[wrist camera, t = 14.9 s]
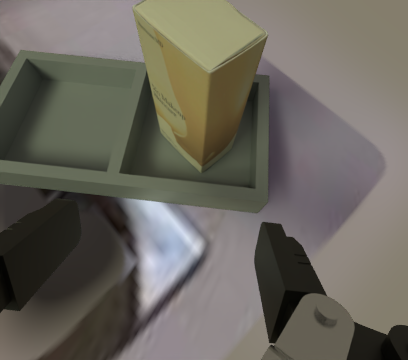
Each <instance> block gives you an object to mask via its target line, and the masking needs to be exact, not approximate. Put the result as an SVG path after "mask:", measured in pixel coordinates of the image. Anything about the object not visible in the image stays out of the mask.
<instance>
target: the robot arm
mask: <svg viewBox="0 0 408 360" xmlns="http://www.w3.org/2000/svg"><path fill="white" fill-rule="evenodd" d="M80 238H81V223H80V216H79V208H78V204H77V202H76V201H74V200H65V199H54V200H53V201H51V202H50V203H49V204H47V205H46V206H44V207H43V208H41V209H39V210H37V211H34V212H32V213H29V214H27V215H26V216H24V217H23V218H21V219H20V220H18V221H17V223H14V224H13V225H11V226H10V227H8V228H7V230H4V231H2V232H1V233H0V313H1V311H2V310H3V309H7V310H15V311H20V310H21V309H22V308H23V307H24V305H25V304H26V303H27V302H28V301H29V300H30V299H31V297H32V296H33V295H34V294H35V293H36V292H37V291H38V289H39V288H40V287H41V286H42V285H43V284H44V283H45V281H46V280H47V279H48V278H49V277H50V276H51V275H52V273H53V272H54V271H55V270H56V269H57V268H58V267H59V265H60V264H61V263H62V262H63V261H64V260H65V259H66V257H67V256H68V255H69V254H70V253H71V252H72V251H73V249H74V248H75V247H76V246H77V245H78V243H79V241H80ZM254 263H255V270H256V275H257V281H258V286H259V291H260V296H261V302H262V307H263V312H264V317H265V323H266V328H267V333H268V339H269V343H275V345H274V346H273V345H270V347H269V348H268V349H267V351H266V352H265V354H264V355H263V357H262V359H261V360H408V326H405V325H396V326H394V327H392V328H391V330H390V331H389V333H388V335H386V334H383V333H380V332H378V331H375V330H373V329H370V328H368V327H365V326H362V325H360V324H358V323H355V322H354V321H353V319H352V317H351V316H350V314H349V313H348V311H347V310H346V309H345V308H344V307H343V306H342V305H341V304H339V303H338V302H337V301H335V300H333V299H332V298H330V297H327V295H326V293H325V291H324V289H323V287H322V285H321V283H320V281H319V279H318V277H317V275H316V273H315V271H314V269H313V267H312V266H311V263H310V261H309V259H308V257H307V255H306V253H305V251H304V249H303V247H302V245H301V244H300V243H299V242H297V241H296V240H295V239H294V238H293V237H286V234H285V232H284V230H283V227H282V225H281V224H277V223H268V222H262V224H261V227H260V231H259V236H258V241H257V245H256V250H255V258H254Z"/></svg>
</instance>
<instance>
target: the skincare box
mask: <svg viewBox="0 0 408 360" xmlns="http://www.w3.org/2000/svg"><path fill="white" fill-rule="evenodd" d="M132 8H133V13H134V17H135V21H136V25H137V29H138V34H139V38H140V43H141V47H142V51H143V56H144V60H145V65H146V69H147V73H148V77H149V82H150V87H151V91H152V95H153V99H154V104H155V108H156V113H157V117H158V121H159V126H160V130H161V133H162V134H163V136H164V137H165V138H166V139H167V140H168V141H169V142H170V143H171V144H172V145H173V146H174V147H175V148H176V149H177V150H178V152H179V153H180V154H181V155H183V156H184V158H186V159H187V160H188V161H189V162H190V163H191V164H192V165H193V166H194V167H195V168H196V169H197V170H198V171H199V172H200V173H203V172H204V171H205V170H206V169H208V168H209V167H210V166H212V165H213V164H214V163H215V162H217V161H218V160H219V159H220V158H221V157H223V156H224V155H225V154H226V153H227V152H228V151H230V150H231V149H232V146H233V143H234V140H235V137H236V133H237V130H238V127H239V124H240V121H241V118H242V115H243V112H244V108H245V105H246V102H247V99H248V96H249V93H250V90H251V87H252V83H253V80H254V77H255V74H256V71H257V68H258V65H259V62H260V59H261V55H262V52H263V49H264V46H265V43H266V39H267V36H268V34H267V32H266V31H265V30H264V29H262V28H261V27H259V26H258V25H257V24H256V23H254V22H253V21H251V20H250V19H249V18H247V17H246V16H245V15H243V14H242V13H240V12H239V11H238V10H237V9H236V8H235V7H234V6H232V5H231V4H230V3H229V2H227V1H226V0H143V1H141V2H139V3H138V4H136V5H134V6H133V7H132Z"/></svg>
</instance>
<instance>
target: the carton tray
mask: <svg viewBox="0 0 408 360" xmlns="http://www.w3.org/2000/svg"><path fill="white" fill-rule="evenodd" d="M268 152H269V76H267V75H257V74H255V77H254V80H253V83H252V87H251V90H250V93H249V96H248V99H247V102H246V105H245V108H244V112H243V115H242V118H241V121H240V124H239V127H238V130H237V133H236V137H235V140H234V143H233V146H232V149H231V150H230V151H228V152H227V153H226V154H225V155H224V156H223V157H221V158H220V159H219V160H218V161H217V162H215V163H214V164H213V165H212V166H210V167H209V168H208V169H206V170H205V171H204V172H203V173H200V172H199V171H198V170H197V169H196V168H195V167H194V166H193V165H192V164H191V163H190V162H189V161H188V160H187V159H186V158H184V156H183V155H181V154H180V153H179V152H178V150H177V149H176V148H175V147H174V146H173V145H172V144H171V143H170V142H169V141H168V140H167V139H166V138H165V137H164V136H163V134H162V133H161V130H160V126H159V121H158V117H157V113H156V108H155V104H154V99H153V95H152V91H151V87H150V82H149V77H148V73H147V69H146V65H145V63H141V62H131V61H122V60H112V59H102V58H93V57H83V56H73V55H64V54H54V53H44V52H35V51H25V50H20V52H19V54H18V56H17V57H16V59H15V61H14V63H13V64H12V66H11V68H10V70H9V72H8V73H7V75H6V77H5V79H4V81H3V82H2V84H1V86H0V184H8V185H17V186H27V187H35V188H43V189H52V190H61V191H69V192H78V193H87V194H95V195H104V196H113V197H121V198H130V199H139V200H147V201H156V202H165V203H173V204H182V205H191V206H199V207H208V208H217V209H225V210H234V211H243V212H252V213H258V212H259V211H260V210H261V209H262V208H263V207H264V206H265V205H266V204H267V203H268Z"/></svg>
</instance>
